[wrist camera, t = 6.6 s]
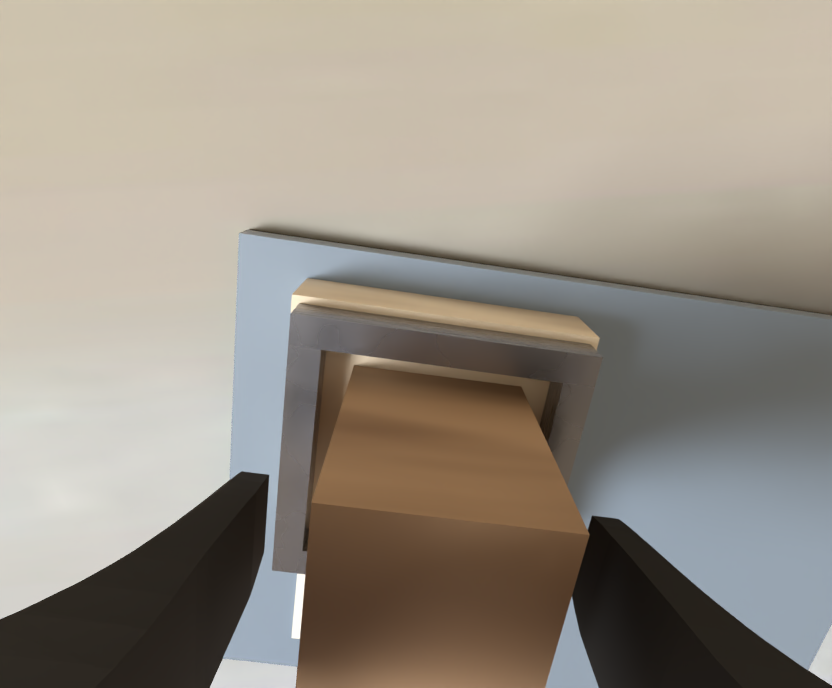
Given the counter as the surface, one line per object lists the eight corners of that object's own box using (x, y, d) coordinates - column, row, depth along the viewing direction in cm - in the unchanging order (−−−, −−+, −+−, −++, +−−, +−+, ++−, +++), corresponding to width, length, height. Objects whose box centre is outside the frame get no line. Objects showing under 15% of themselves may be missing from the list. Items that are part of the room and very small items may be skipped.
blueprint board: (769, 700, 22) (838, 807, 18) (229, 640, 21) (190, 740, 17) (952, 332, 17) (1098, 379, 13) (247, 229, 16) (197, 249, 12)
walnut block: (491, 525, 16) (532, 731, 10) (339, 507, 16) (293, 707, 10) (521, 386, 14) (589, 534, 9) (354, 365, 14) (311, 502, 8)
